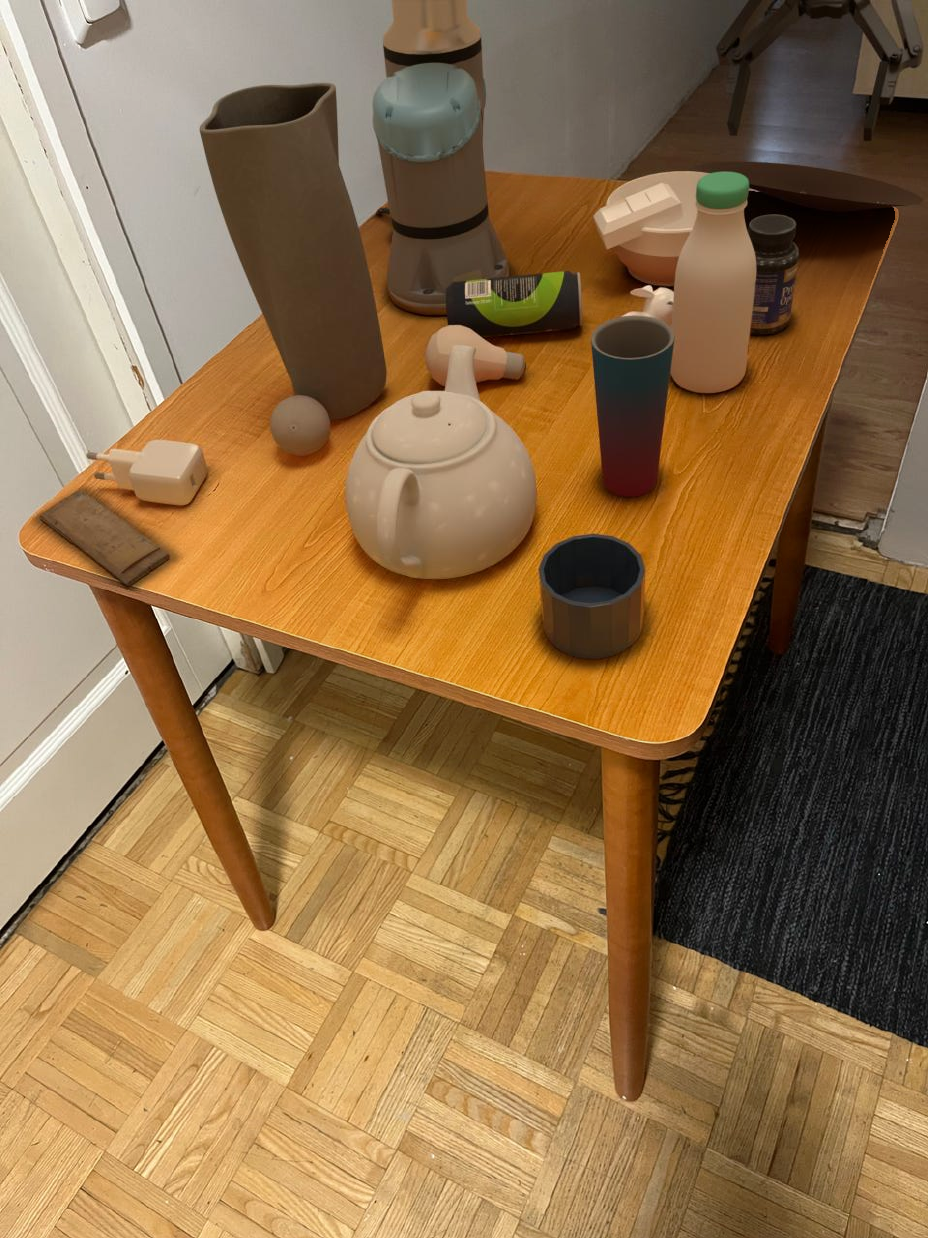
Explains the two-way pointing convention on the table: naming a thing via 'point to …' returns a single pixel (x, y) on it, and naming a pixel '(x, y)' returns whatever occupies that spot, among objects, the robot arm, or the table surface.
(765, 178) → the plate
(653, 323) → the cup
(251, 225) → the vase
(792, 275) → the pill bottle
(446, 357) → the light bulb
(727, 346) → the milk bottle
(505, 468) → the teapot
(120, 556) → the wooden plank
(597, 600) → the cylindrical container
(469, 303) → the beverage can
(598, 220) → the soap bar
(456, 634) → the table surface
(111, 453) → the power adapter
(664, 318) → the elephant figurine
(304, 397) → the ball
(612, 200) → the bowl
